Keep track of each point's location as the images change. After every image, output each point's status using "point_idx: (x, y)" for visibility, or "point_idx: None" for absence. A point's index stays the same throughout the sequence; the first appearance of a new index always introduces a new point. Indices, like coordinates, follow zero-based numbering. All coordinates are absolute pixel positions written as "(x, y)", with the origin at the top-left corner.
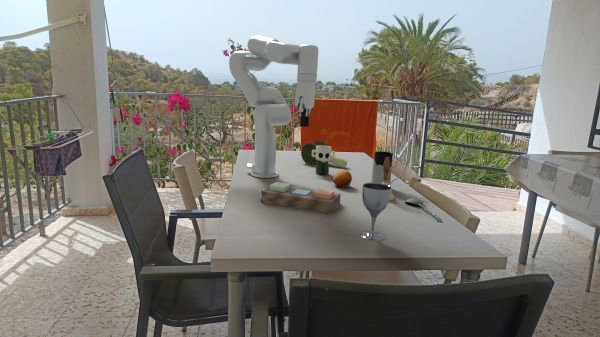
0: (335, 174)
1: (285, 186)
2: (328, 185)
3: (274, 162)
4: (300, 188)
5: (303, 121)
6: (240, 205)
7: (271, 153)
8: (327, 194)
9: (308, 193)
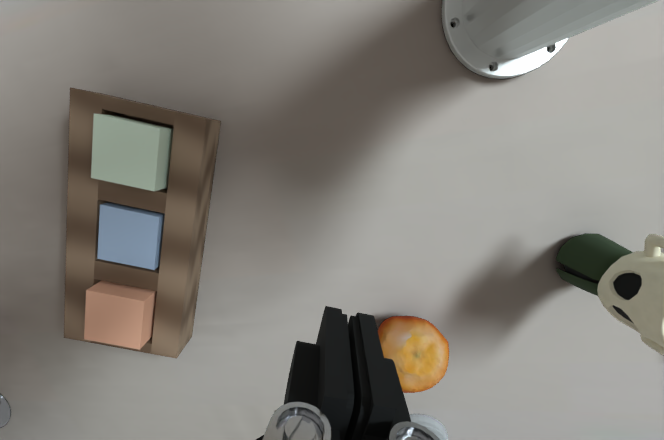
0: (404, 338)
1: (109, 180)
2: (398, 292)
3: (526, 42)
4: (177, 227)
5: (287, 387)
6: (31, 27)
7: (537, 5)
8: (84, 331)
9: (121, 262)
